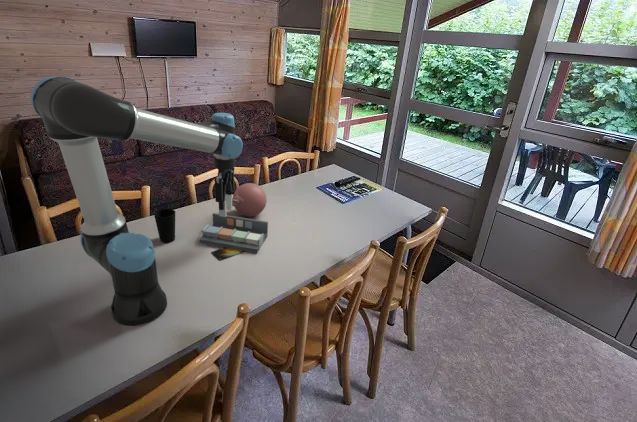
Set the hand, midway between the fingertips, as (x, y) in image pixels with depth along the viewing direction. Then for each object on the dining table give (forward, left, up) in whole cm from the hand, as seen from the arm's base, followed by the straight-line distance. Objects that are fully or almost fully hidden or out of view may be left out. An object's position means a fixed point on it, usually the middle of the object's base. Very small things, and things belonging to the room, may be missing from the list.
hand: (225, 212), depth 143 cm
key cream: (0, -12, -11) cm, 16 cm away
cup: (-6, +22, -13) cm, 26 cm away
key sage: (0, -6, -11) cm, 12 cm away
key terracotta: (0, 0, -11) cm, 11 cm away
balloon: (+23, 0, -13) cm, 27 cm away
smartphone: (-6, -5, -13) cm, 16 cm away
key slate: (0, +6, -11) cm, 12 cm away
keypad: (+2, -3, -13) cm, 13 cm away
